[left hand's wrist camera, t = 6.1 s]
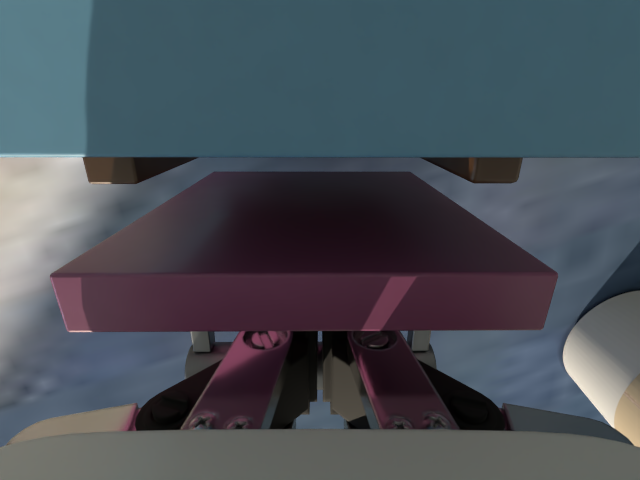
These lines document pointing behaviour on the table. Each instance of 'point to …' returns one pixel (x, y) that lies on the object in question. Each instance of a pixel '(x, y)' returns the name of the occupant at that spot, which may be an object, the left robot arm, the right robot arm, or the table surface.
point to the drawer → (304, 259)
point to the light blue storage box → (320, 78)
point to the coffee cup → (609, 361)
